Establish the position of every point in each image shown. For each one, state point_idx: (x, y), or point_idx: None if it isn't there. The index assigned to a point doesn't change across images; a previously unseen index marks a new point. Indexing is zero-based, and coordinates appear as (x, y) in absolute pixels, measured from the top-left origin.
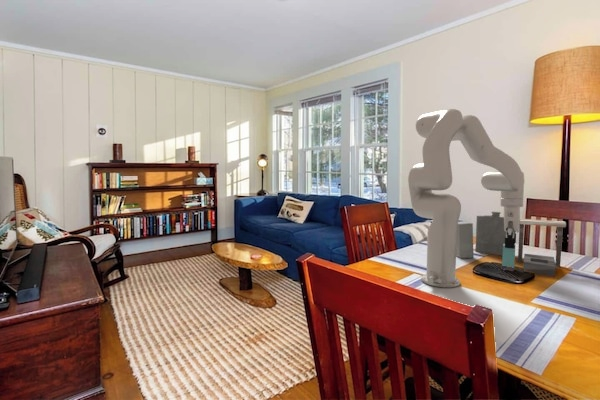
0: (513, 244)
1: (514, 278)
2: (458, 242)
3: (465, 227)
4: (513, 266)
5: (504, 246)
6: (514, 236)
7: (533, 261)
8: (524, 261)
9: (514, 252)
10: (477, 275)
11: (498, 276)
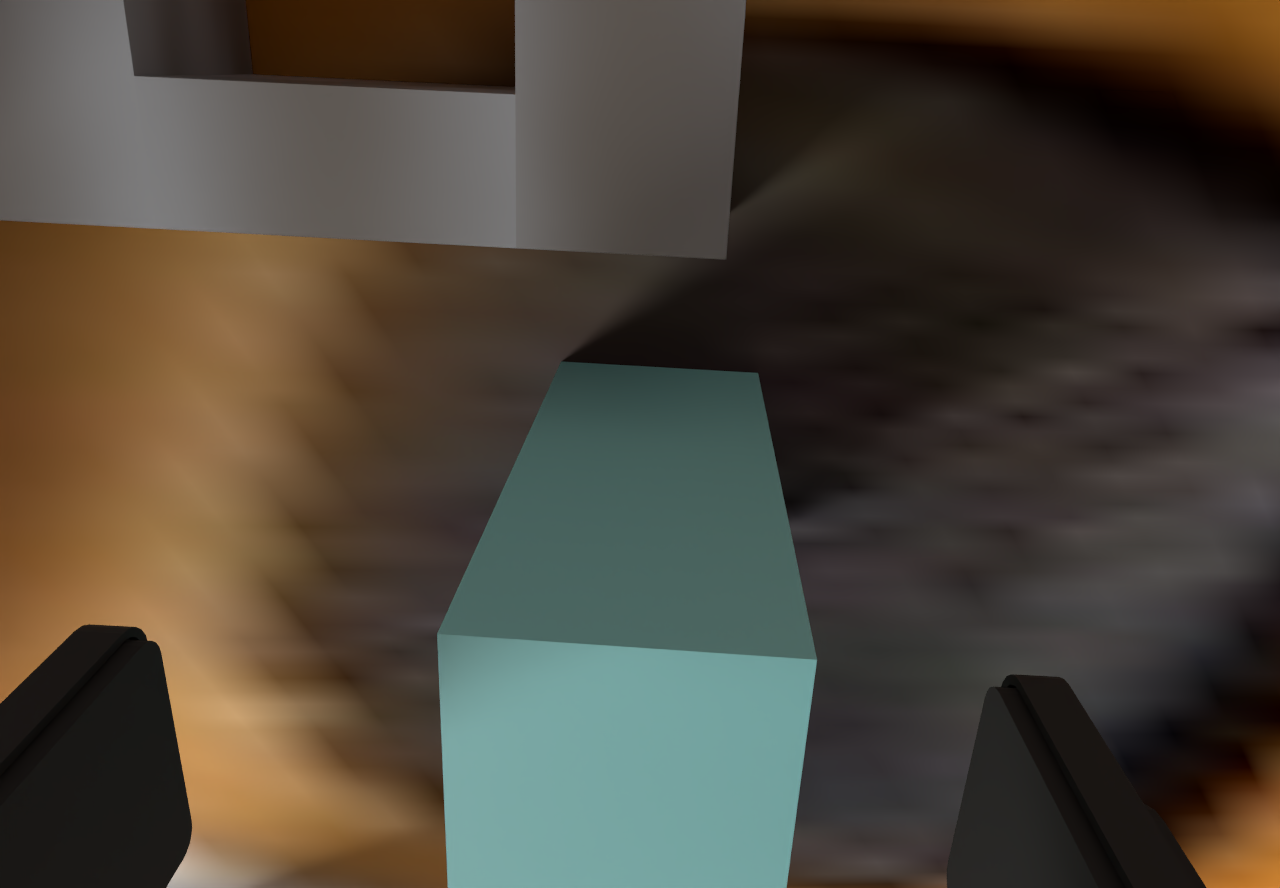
0: (1104, 800)
1: (1222, 369)
2: None
3: None
4: (762, 416)
5: (776, 883)
6: (2, 854)
7: (171, 5)
8: (628, 236)
9: (795, 559)
10: (1235, 841)
11: (1183, 594)
